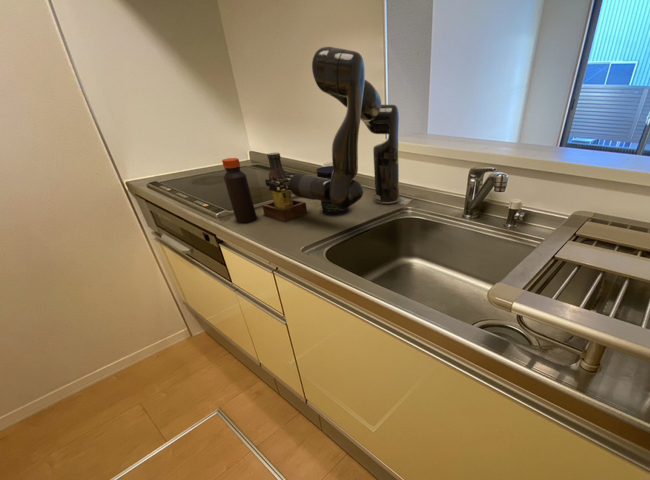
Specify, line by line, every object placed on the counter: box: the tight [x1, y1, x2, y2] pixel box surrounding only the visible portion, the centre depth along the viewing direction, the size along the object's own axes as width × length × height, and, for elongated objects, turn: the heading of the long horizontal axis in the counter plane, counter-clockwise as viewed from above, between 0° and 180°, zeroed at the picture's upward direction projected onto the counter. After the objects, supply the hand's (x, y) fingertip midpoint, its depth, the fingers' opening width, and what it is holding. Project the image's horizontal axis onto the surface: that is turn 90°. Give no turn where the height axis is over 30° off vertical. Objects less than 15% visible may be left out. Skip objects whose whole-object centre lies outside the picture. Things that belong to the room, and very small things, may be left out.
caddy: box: [261, 198, 308, 222], centre depth 123 cm, size 10×11×4 cm
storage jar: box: [316, 166, 350, 217], centre depth 121 cm, size 10×10×15 cm
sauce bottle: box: [266, 152, 293, 209], centre depth 118 cm, size 6×6×20 cm
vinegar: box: [221, 157, 258, 224], centre depth 114 cm, size 7×7×20 cm
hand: (274, 180), depth 118 cm, fingers closed on sauce bottle, 6 cm apart
